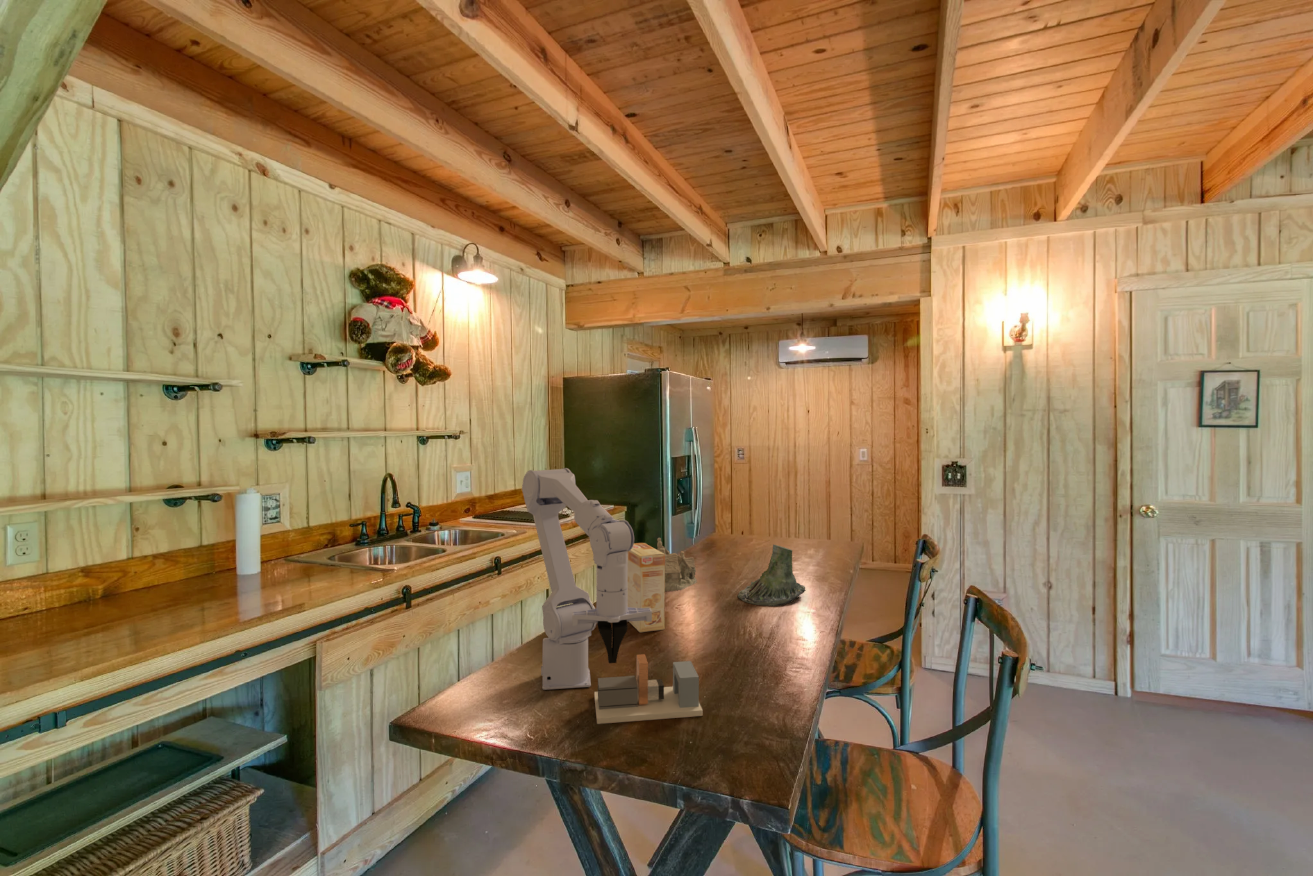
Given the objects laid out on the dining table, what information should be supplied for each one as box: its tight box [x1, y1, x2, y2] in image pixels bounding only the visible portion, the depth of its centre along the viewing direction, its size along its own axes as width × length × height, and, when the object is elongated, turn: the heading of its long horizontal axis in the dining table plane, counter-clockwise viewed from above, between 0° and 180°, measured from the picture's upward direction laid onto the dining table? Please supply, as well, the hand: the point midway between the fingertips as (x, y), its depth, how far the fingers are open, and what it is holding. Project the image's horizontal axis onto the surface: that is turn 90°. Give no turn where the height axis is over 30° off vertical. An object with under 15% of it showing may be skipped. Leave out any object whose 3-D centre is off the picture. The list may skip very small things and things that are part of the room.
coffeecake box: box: [627, 542, 666, 633], centre depth 154 cm, size 15×7×20 cm, turn 22°
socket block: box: [672, 660, 700, 708], centre depth 110 cm, size 4×7×6 cm, turn 9°
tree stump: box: [737, 544, 807, 607], centre depth 177 cm, size 18×20×18 cm
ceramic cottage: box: [656, 537, 698, 592], centre depth 190 cm, size 16×16×15 cm
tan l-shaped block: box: [607, 653, 665, 705], centre depth 108 cm, size 12×4×8 cm, turn 99°
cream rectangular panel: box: [593, 675, 704, 725], centre depth 109 cm, size 19×10×5 cm, turn 99°
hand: (612, 661), depth 107 cm, fingers closed
